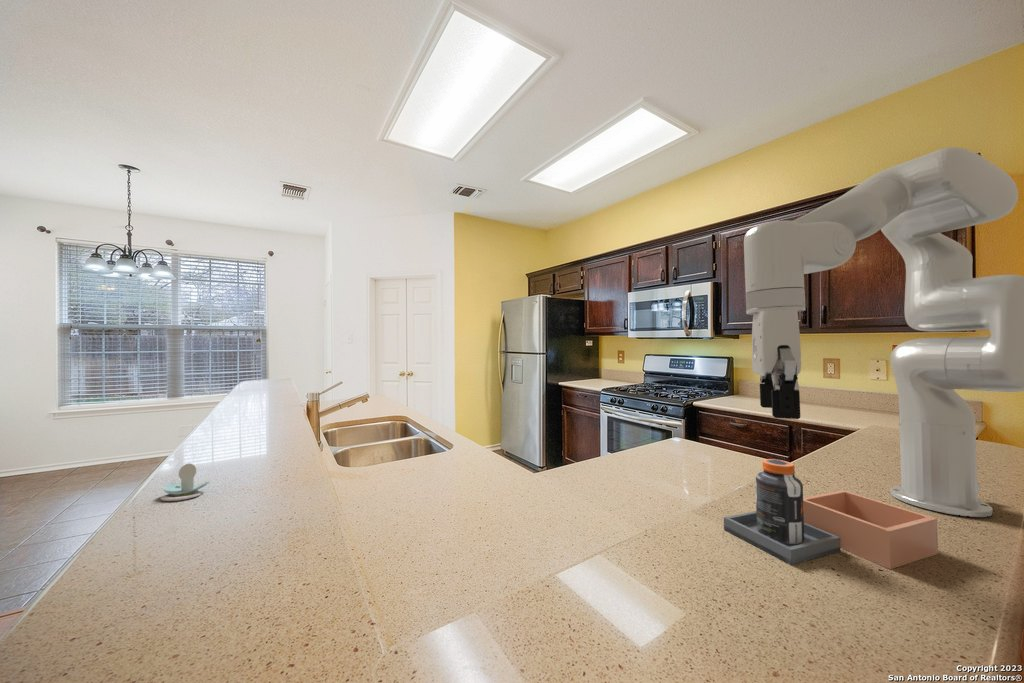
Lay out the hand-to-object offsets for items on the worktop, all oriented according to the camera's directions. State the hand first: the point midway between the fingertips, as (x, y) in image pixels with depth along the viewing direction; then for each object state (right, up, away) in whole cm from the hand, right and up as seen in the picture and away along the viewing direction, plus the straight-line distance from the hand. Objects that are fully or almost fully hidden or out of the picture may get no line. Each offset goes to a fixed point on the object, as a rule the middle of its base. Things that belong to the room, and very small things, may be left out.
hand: (778, 412), depth 57 cm
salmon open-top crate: (+12, -20, -1) cm, 23 cm away
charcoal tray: (0, -20, -1) cm, 20 cm away
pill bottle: (0, -19, -1) cm, 19 cm away
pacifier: (-108, -20, +16) cm, 111 cm away
